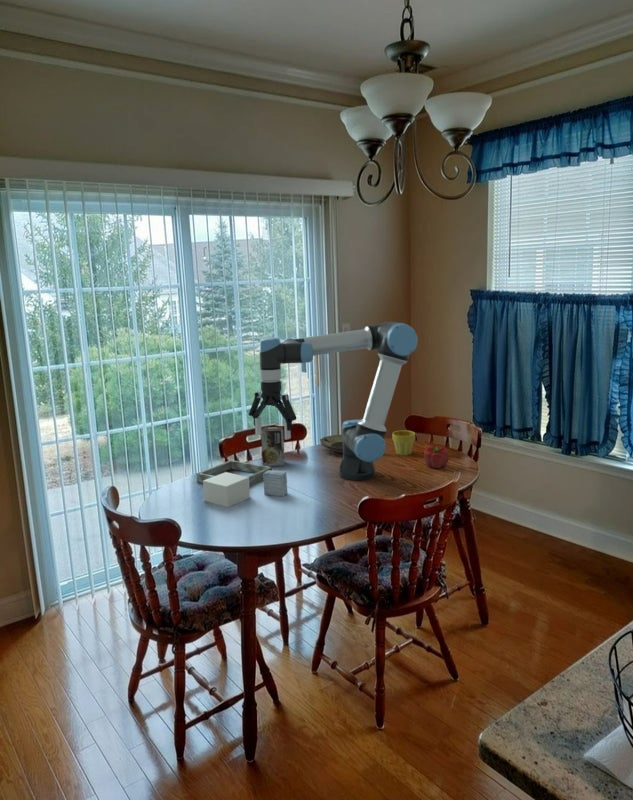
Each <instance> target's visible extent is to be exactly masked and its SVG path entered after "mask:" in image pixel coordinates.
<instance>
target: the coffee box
mask: <svg viewBox="0 0 633 800" xmlns="http://www.w3.org/2000/svg"><path fill="white" fill-rule="evenodd" d="M261 433H262V434H260V435H261V451H262V466H268V467H272V466H273V467H275V466H276V467H277V466H279V467H281V466H282V467H283V466H284V464H285V463H286V461H285V459H286V458H285V441H284V440H285V435H284V427H283V426H279V427H278V426H274V427H273V426H272V427H271V426H270V427H267V426H266V427H263V428H261Z"/></svg>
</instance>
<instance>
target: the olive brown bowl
mask: <svg viewBox="0 0 633 800" xmlns="http://www.w3.org/2000/svg"><path fill="white" fill-rule="evenodd" d="M319 441H320V445H322V446H323V447H324V448H326V449H329V450H331V451H333V452H336V453H341V454H343V437H342V434H336V435H335V434H334V435H333V434H332V435H328V436H323V437H322V438H320V439H319Z"/></svg>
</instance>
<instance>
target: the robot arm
mask: <svg viewBox="0 0 633 800" xmlns="http://www.w3.org/2000/svg"><path fill="white" fill-rule="evenodd" d="M418 342H419V341H418V334H417V332H416V331H415V329H414V328H413V327H412V326H411V325H408V324H406V323H405V322H396V321H386V322H382V323H378V324H377V323H376V324H374V325H373V324H372V325H368V326H367V325H366V326H364V328H362V329H357V330H356V329H355V330H350V331H349V330H348V331H343V332H337V333H328V334H321V335H314V336H306V337H300V338H287V339H284V340H283V341H282V342H281V339H280V338H279V337H265V338H261V339H260V340H259V351H258V353H259V354H258V355H259V366H260V368H259V373H260V375H259V376H260V377H259V378H260V380H261V381H260V391H257V392H255V393H254V398H253V401H252V404H251V408H250V409H249V411H248V416H250V417H252V418H253V426H254V427H255V428H254V430H255V436H260V435H261V434H262V433H261V431H262V417H260V416H261V414H262V413H263V411H264V410H265V408H266V407H267V406H270V407H275V409H277V410H278V411H279V413H280V415H281V416H282V418H283V419H284V420H285V421H284V422H283V424H284V427H283V430H284V440H285V441H286V440H290V439H291V438H292V435H291V433H292V430H293V421H296V420H297V415H296V414H295V411H294V409H293V406H292V404H291V401H290V397H289V394H287V393H286V394H282V393H281V392H282V381H281V379H282V374H281V373H282V370H281V368H282V366H281V365H283V364H307V363H311V362H312V361H313V360H314V356H322V355H328V354H335V353H341V352H349V351H356V350H362V349H367V350H368V351H373V350H374V351H375V350H378V352H377V356H378V357H379V363H378V367H377V369H376V372H375V375H374V380H373V383H372V387H371V389H370V392H369V396H368V400H367V403H366V407H365V411H364V414H363V418H362V419H349V420H345V421H343V422H342V425H341V426H342V427H341V432H342V433H341V435H342V437H343V453H342V459H341V462H340V464H339V468H338V475H339V477H340V478H341V479H345V480H351V481H364V480H368V479H373V478H374V477H375V476H376V474H377V473H376V472H377V471H376V470H377V469H376V467H375V462H376V461H378V460H379V459H381V458H382V457H383V455H384V454H385V452H386V447H387V446H386V440H385V437H386V434H387V428H386V426H385V424H386V420H387V417H388V413H389V410H390V407H391V403H392V399H393V397H394V395H395V389H396V387H397V383H398V381H399V376H400V373H401V370H402V366H403V365H405V364H407V363H408V360H409V358H410V355H411V354H413V352H414V351H415V350H416V349H417V346H418Z"/></svg>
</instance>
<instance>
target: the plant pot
mask: <svg viewBox="0 0 633 800" xmlns="http://www.w3.org/2000/svg"><path fill="white" fill-rule="evenodd" d="M391 434H392V435H391V437H392V441H393V443H394V448H395V452H396V455H398V454H400V455H399V456H403V455H404V456H408V455H407V454H410V455H411V454H412V452H413V451H412V450H413V448H414V447H413V446H414V442H416V432H414V431H412V430H404V429H402V430H396V431H393V432H392V433H391Z"/></svg>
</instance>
